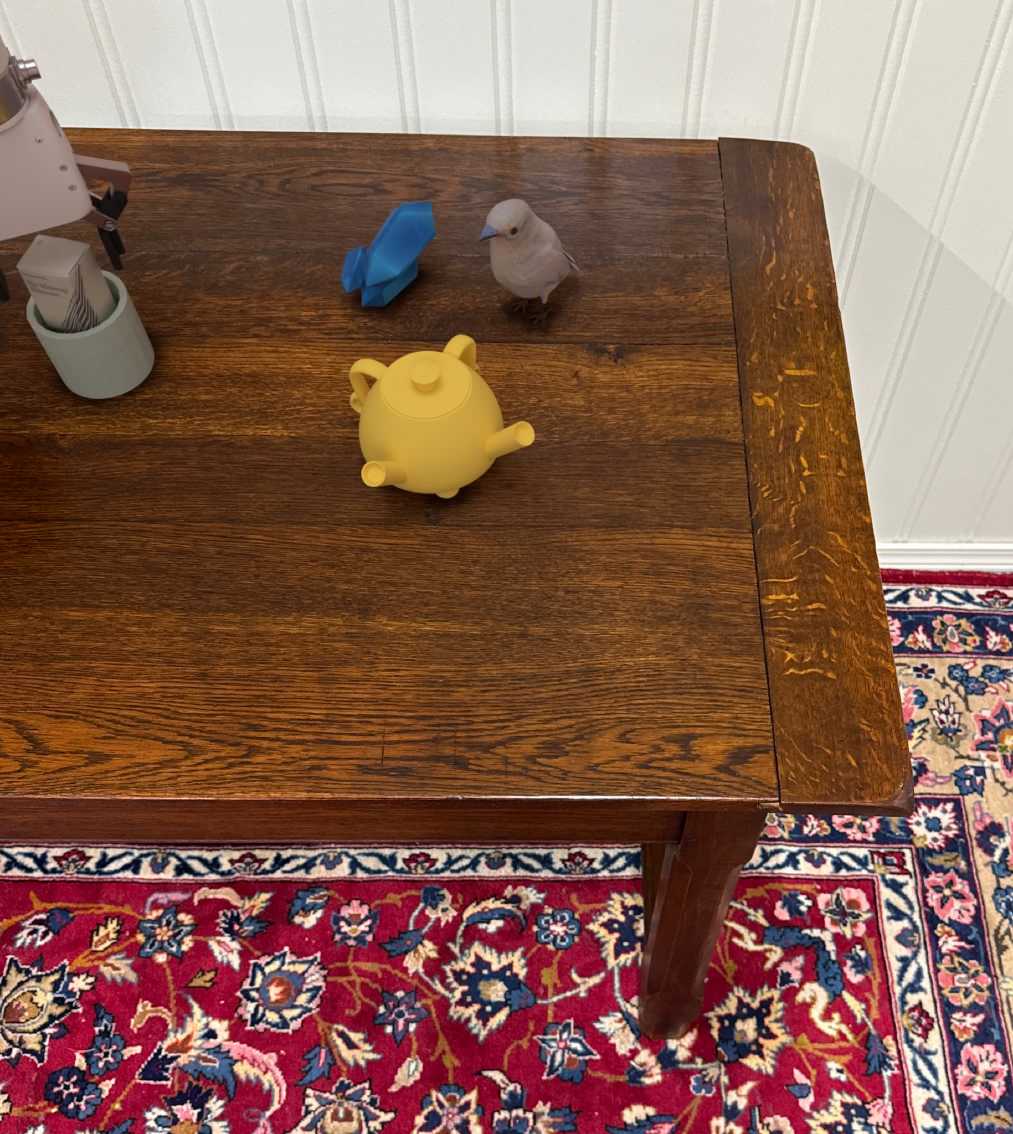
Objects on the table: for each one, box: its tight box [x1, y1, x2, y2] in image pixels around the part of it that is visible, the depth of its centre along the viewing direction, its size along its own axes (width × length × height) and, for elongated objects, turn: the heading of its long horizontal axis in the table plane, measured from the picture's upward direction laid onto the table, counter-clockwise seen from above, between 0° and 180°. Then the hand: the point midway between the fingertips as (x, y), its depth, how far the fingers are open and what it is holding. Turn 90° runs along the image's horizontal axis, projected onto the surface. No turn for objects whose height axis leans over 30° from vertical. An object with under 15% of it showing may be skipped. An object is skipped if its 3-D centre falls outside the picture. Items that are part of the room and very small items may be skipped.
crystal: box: [340, 200, 437, 307], centre depth 97 cm, size 7×9×12 cm
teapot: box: [348, 334, 536, 499], centre depth 84 cm, size 14×14×11 cm
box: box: [15, 234, 117, 334], centre depth 89 cm, size 5×4×13 cm
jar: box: [26, 269, 155, 400], centre depth 92 cm, size 9×9×8 cm
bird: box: [477, 198, 581, 329], centre depth 92 cm, size 5×14×15 cm, turn 137°
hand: (61, 275), depth 86 cm, fingers open, 9 cm apart
